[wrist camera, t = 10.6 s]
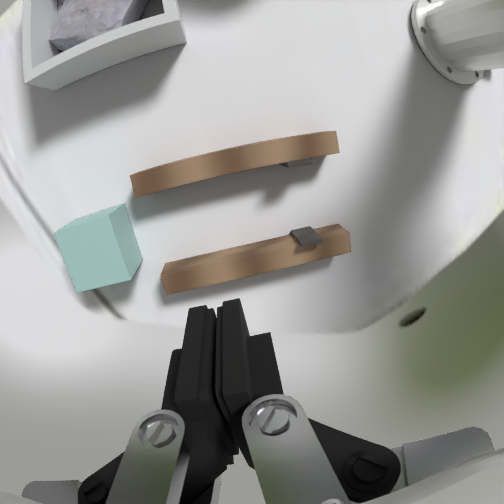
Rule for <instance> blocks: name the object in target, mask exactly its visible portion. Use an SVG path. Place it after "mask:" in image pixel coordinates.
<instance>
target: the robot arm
mask: <svg viewBox="0 0 504 504" xmlns="http://www.w3.org/2000/svg"><path fill="white" fill-rule="evenodd" d="M411 19H412V26H413V30H414V34H415V36H416V38H417V41H418V43H419V45H420V47H421V49H422V51H423V52H424V54H425V55H426V57H427V58H428V60H429V61H430V62H431V64H432V65H433V66H434V67H435V68H436V69H437V70H438V71H439V72H440V73H441V74H442V75H443V76H445V77H446V78H448V79H449V80H451V81H453V82H455V83H459V84H472V83H475V82H477V81H478V80H479V79H480V78H481V77H482V75H483V73H484V70H490V69H501V68H504V0H416V1H415V3H414V5H413V7H412V13H411ZM239 448H240V450H241V452H242V454H243V456H244V458H245V460H246V461H247V463H248V465H249V466H250V467H251V468H253V469H255V471H256V474H257V477H258V480H259V483H260V487H261V490H262V493H263V496H264V499H265V502H266V504H504V448H501V449H498V450H494V447H493V444H492V441H491V438H490V436H489V435H488V433H487V432H486V431H484V430H483V429H481V428H477V427H468V428H464V429H460V430H457V431H454V432H450V433H447V434H443V435H439V436H435V437H431V438H427V439H423V440H418V441H413V442H409V443H404V444H403V445H402V447H397V448H392V449H388V448H386V447H384V446H381V445H378V444H375V443H372V442H369V441H366V440H363V439H361V438H358V437H355V436H352V435H349V434H347V433H344V432H342V431H339V430H336V429H334V428H331V427H328V426H326V425H324V424H321V423H319V422H316V421H314V420H311V419H309V418H307V416H306V414H305V412H304V410H303V408H302V407H301V405H300V404H299V402H297V400H295V399H293V398H292V397H290V396H286V395H284V394H283V389H282V385H281V380H280V376H279V371H278V366H277V361H276V357H275V352H274V348H273V343H272V338H271V334H270V332H269V333H264V334H259V335H254V336H250V335H249V331H248V328H247V324H246V320H245V316H244V313H243V309H242V305H241V301H240V299H239V298H238V299H234V300H229V301H224V302H223V306H221V307H217V318H216V315H215V312H214V309H213V308H211V309H208V308H207V306H206V305H204V306H199V307H193V308H189V311H188V317H187V323H186V328H185V334H184V340H183V346H182V349H176V350H174V351H173V352H172V355H171V360H170V365H169V370H168V375H167V381H166V386H165V391H164V397H163V403H162V408H161V410H156V411H153V412H150V413H148V414H146V415H145V416H143V417H142V418H141V419H140V420H139V421H138V422H137V423H136V425H135V427H134V429H133V431H132V434H131V437H130V439H129V442H128V444H127V447H126V449H125V452H123V453H122V454H120V455H119V456H118V457H116V458H115V459H114V460H112V461H111V462H109V463H108V464H106V465H105V466H104V467H102V468H101V469H100V470H98V471H97V472H95V473H94V474H92V475H91V476H89V477H88V478H87V479H85V480H84V481H83V482H80V481H79V480H66V481H33V482H30V483H29V484H27V485H26V486H25V488H24V489H23V492H22V497H20V496H18V495H15V494H11V493H6V492H0V504H218V499H219V492H220V486H221V476H220V475H221V474H222V473H223V472H224V471H225V470H226V469H227V465H228V464H234V462H233V455H238V454H239Z"/></svg>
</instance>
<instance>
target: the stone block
mask: <svg viewBox="0 0 504 504" xmlns="http://www.w3.org/2000/svg"><path fill="white" fill-rule="evenodd" d="M148 1H149V0H64V2H63V6H62V7H61V9H60V11H59V13H58V15H57V18H56V22H55V23H54V25H53V27H52V29H51V32H50V38H49V40H50V42H51V43H52V44H54V46H55V47H56V48H57V49H59V50H61V51H66V50H68V49H70V48H72V47H74V46H76V45H78V44H81V43H83V42H85V41H87V40H89V39H92V38H94V37H96V36H99V35H101V34H104V33H106V32H109V31H111V30H114V29H117V28H119V27H122V26H125V25H128V24H131V23H134V22H137V21H139V20H140V18H141V16H142V13H143V11H144V9H145V7H146V5H147V3H148Z"/></svg>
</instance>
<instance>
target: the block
mask: <svg viewBox="0 0 504 504" xmlns="http://www.w3.org/2000/svg"><path fill="white" fill-rule="evenodd" d="M54 236H55V239H56V241H57V244H58V247H59V250H60V252H61V255H62V258H63V260H64V263H65V265H66V268H67V270H68V273H69V275H70V277H71V280H72V282H73V284H74V287H75V289H76V291H77V292H81V291H86V290H90V289H94V288H99V287H103V286H107V285H112V284H116V283H120V282H125V281H129V280H131V279H132V277H133V276H134V274H135V272H136V270H137V269H138V267H139V265H140V263H141V262H142V260H143V258H142V255H141V252H140V249H139V246H138V243H137V240H136V237H135V234H134V231H133V227H132V224H131V221H130V218H129V215H128V211H127V208H126V204H125V203H123V204H120V205H117V206H113V207H110V208H107V209H104V210H101V211H98V212H95V213H92V214H89V215H86V216H83V217H80V218H77V219H75V220H73V221H72V222H70V223H68V224H67V225H65V226H64V227H62V228H61V229H59V230H58V231H56V232H55V233H54Z"/></svg>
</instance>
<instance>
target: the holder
mask: <svg viewBox="0 0 504 504" xmlns="http://www.w3.org/2000/svg"><path fill="white" fill-rule="evenodd" d="M162 2H163V7H164V13H163V14H159V15H156V16H153V17H149V18H146V19H143V20H140V21H137V22H134V23H131V24H128V25H125V26H122V27H119V28H117V29H114V30H111V31H109V32H106V33H104V34H101V35H99V36H96V37H94V38H92V39H89V40H87V41H85V42H83V43H81V44H78V45H76V46H74V47H72V48H70V49H68V50H66V51H64V52H62V53H60V51H59V49H57V48H56V47H55V46H54V44H52V43H51V42H50V40H49V38H50V32H51V29H52V27H53V25H54V23H55V22H56V18H57V15H58V13H57V0H23V12H22V59H23V75H24V84H27V85H32V86H37V87H41V88H46V89H50V90H54V91H56V90H58V89H60V88H62V87H64V86H66V85H69V84H71V83H73V82H75V81H77V80H79V79H82V78H84V77H86V76H88V75H91V74H93V73H95V72H98V71H100V70H103V69H105V68H108V67H110V66H113V65H116V64H118V63H121V62H124V61H127V60H130V59H132V58H135V57H138V56H141V55H145V54H148V53H151V52H154V51H158V50H161V49H165V48H168V47H172V46H176V45H180V44H184V43H187V42H186V37H185V32H184V27H183V22H182V17H181V12H180V7H179V2H178V0H162Z"/></svg>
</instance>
